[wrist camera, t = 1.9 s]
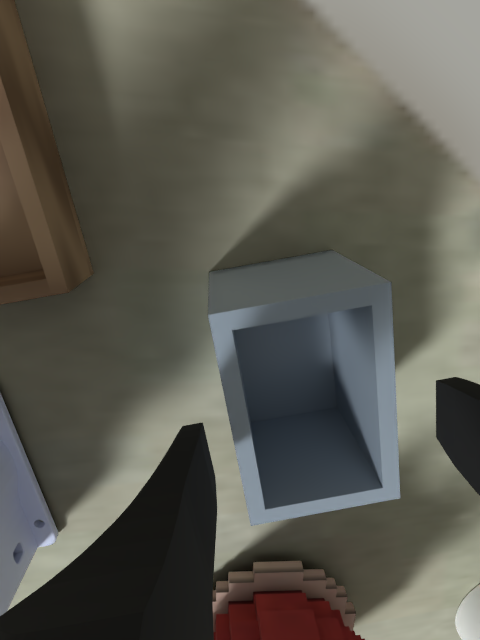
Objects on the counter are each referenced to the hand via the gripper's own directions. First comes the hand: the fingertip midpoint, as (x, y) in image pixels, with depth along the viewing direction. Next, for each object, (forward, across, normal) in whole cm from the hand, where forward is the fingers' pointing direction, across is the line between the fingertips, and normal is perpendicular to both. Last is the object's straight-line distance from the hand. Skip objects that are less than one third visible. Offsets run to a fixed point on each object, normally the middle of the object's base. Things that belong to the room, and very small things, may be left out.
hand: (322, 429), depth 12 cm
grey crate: (+7, 0, 0) cm, 7 cm away
